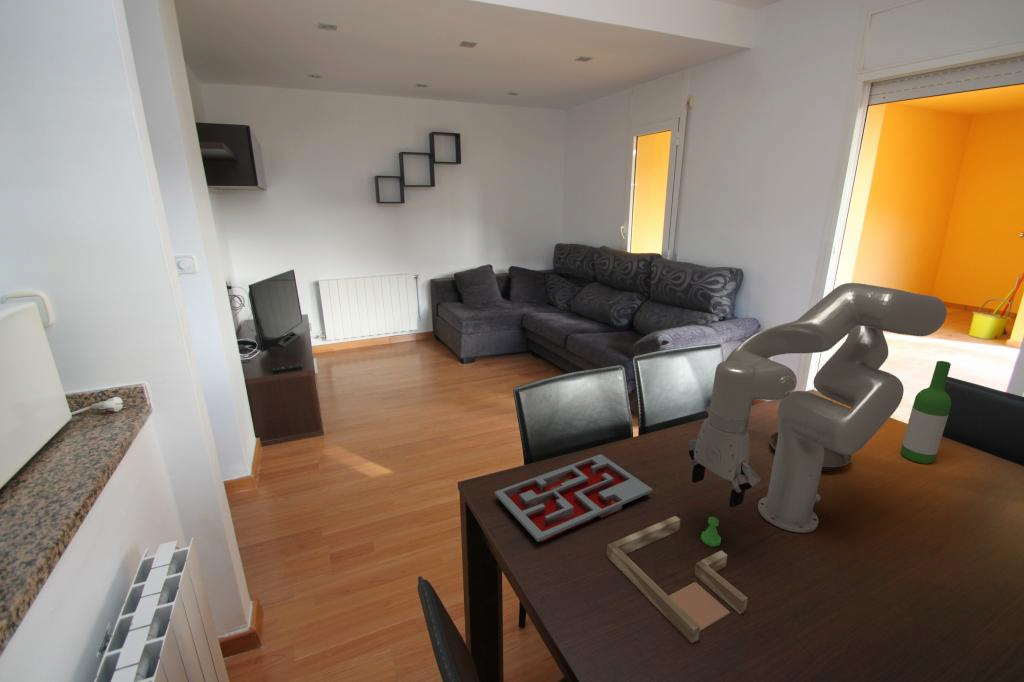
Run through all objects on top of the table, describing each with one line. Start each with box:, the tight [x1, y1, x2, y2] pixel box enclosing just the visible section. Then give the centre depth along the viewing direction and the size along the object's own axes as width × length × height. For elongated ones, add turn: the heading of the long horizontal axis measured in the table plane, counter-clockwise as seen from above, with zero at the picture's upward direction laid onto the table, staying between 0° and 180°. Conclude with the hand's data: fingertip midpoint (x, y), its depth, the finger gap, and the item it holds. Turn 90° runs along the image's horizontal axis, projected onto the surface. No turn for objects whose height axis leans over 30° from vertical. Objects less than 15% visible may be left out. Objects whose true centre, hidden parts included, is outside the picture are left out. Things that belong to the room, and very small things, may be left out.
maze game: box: [494, 453, 653, 543], centre depth 117 cm, size 35×20×3 cm, turn 121°
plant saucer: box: [768, 431, 853, 472], centre depth 137 cm, size 21×21×3 cm
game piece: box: [700, 516, 722, 547], centre depth 103 cm, size 4×4×6 cm
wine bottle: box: [900, 360, 952, 465], centre depth 131 cm, size 8×8×30 cm
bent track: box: [606, 515, 749, 644], centre depth 93 cm, size 20×23×3 cm
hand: (715, 492), depth 100 cm, fingers open, 9 cm apart
